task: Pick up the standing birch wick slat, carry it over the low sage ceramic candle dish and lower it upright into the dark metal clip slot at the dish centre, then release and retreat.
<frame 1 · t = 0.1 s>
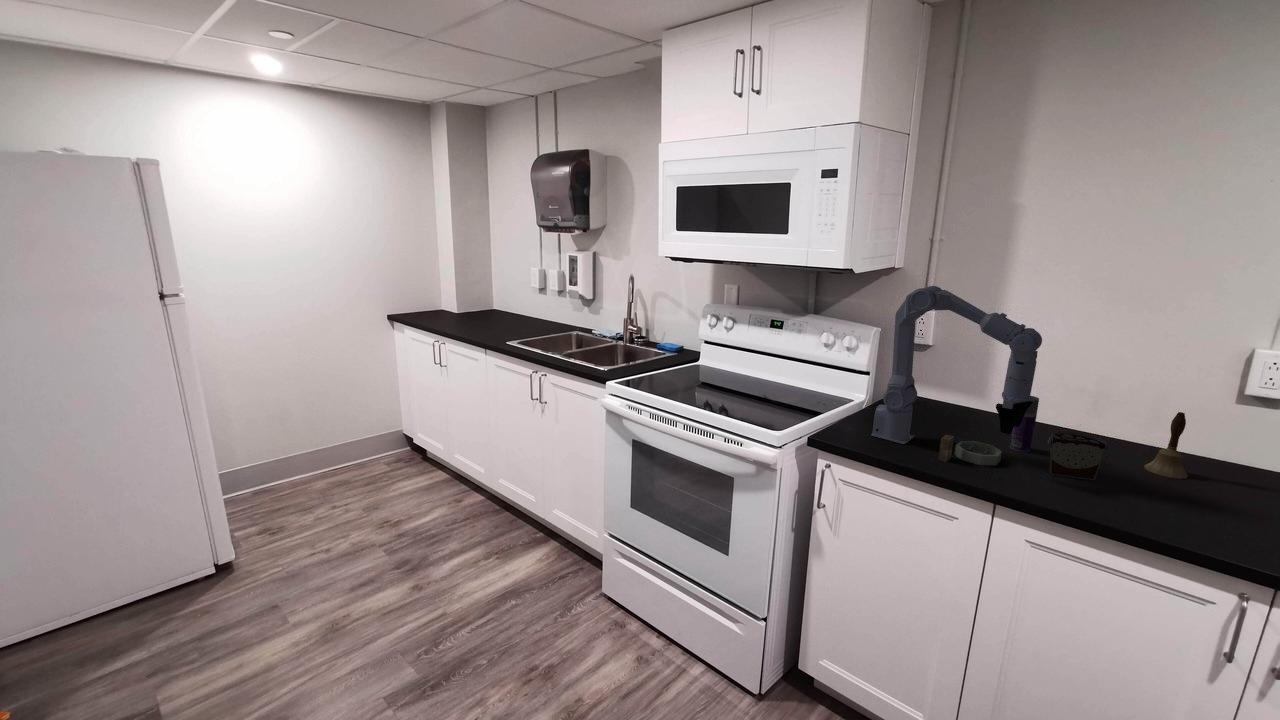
hand: (1010, 429, 146), 10 cm above the worktop, fingers open, 7 cm apart
container: (1019, 449, 159), on the worktop
wick: (944, 458, 152), on the worktop
food container: (1067, 472, 145), on the worktop
hand bell: (1165, 472, 146), on the worktop
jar: (977, 457, 153), on the worktop
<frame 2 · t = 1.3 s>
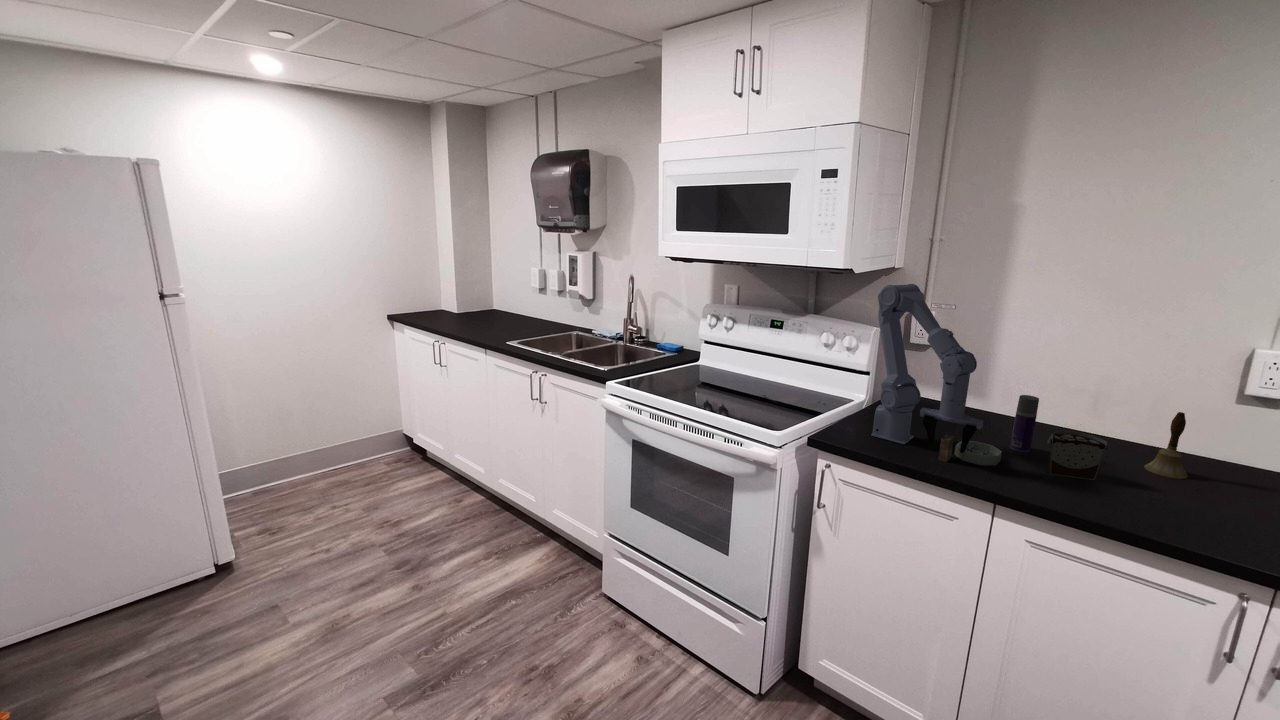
hand: (946, 447, 151), 3 cm above the worktop, fingers open, 7 cm apart
nothing on the worktop moved.
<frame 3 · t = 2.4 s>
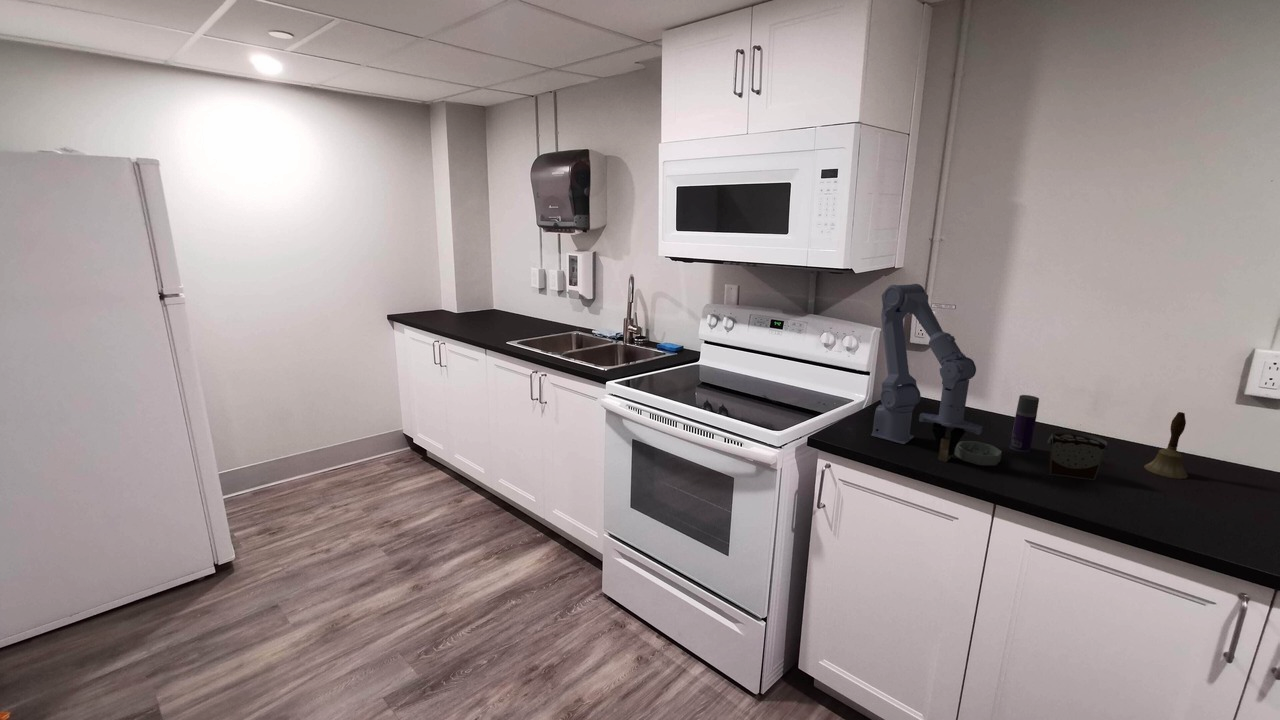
hand: (945, 452, 152), 2 cm above the worktop, fingers closed on wick, 2 cm apart
wick: (944, 458, 152), on the worktop, touching gripper
everything else where it was.
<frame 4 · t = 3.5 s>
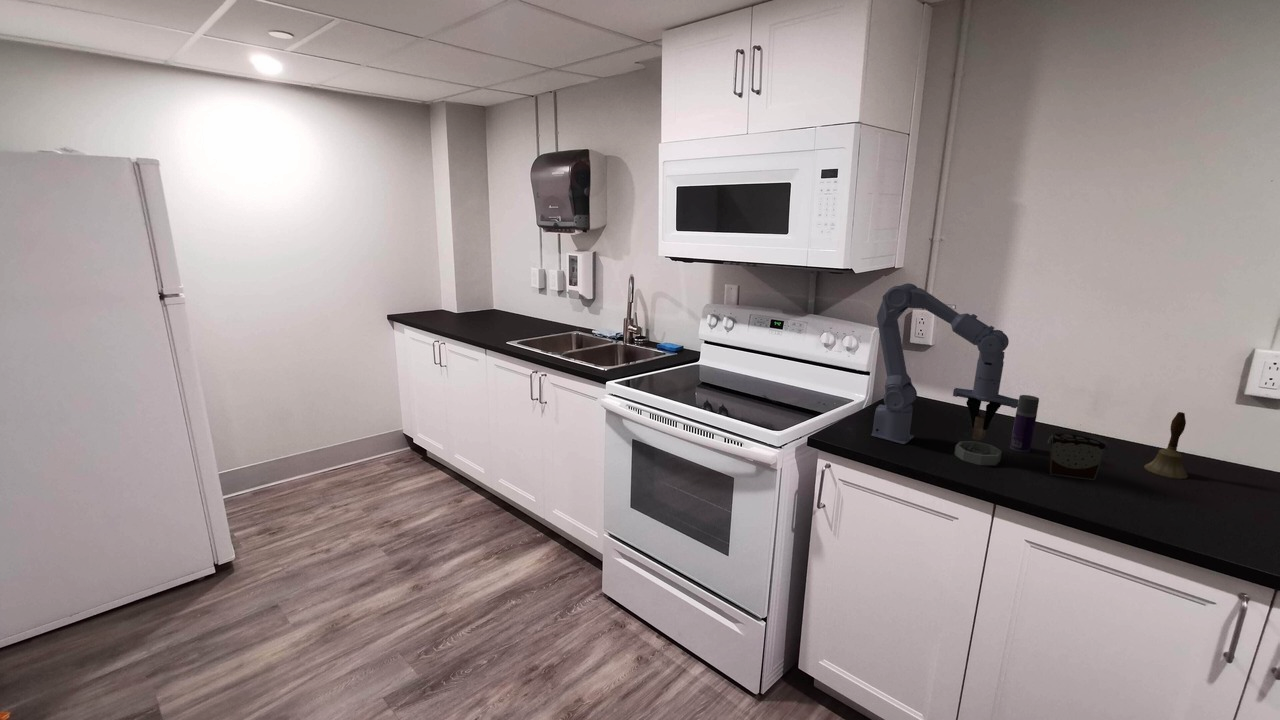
hand: (979, 427, 151), 8 cm above the worktop, fingers closed on wick
wick: (978, 437, 152), point 6 cm above the worktop, touching gripper
everything else where it was.
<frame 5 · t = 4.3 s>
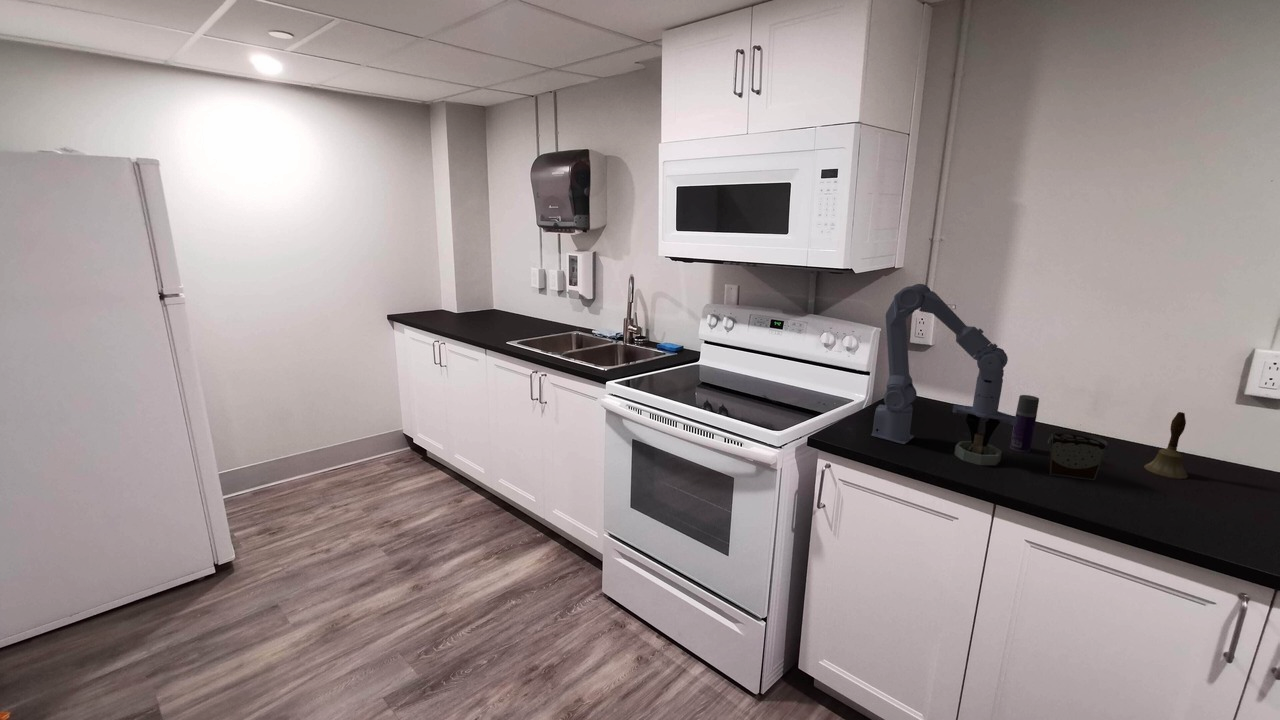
hand: (979, 444, 152), 4 cm above the worktop, fingers closed on wick, 2 cm apart
wick: (977, 454, 153), point 1 cm above the worktop, touching gripper, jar
everything else where it was.
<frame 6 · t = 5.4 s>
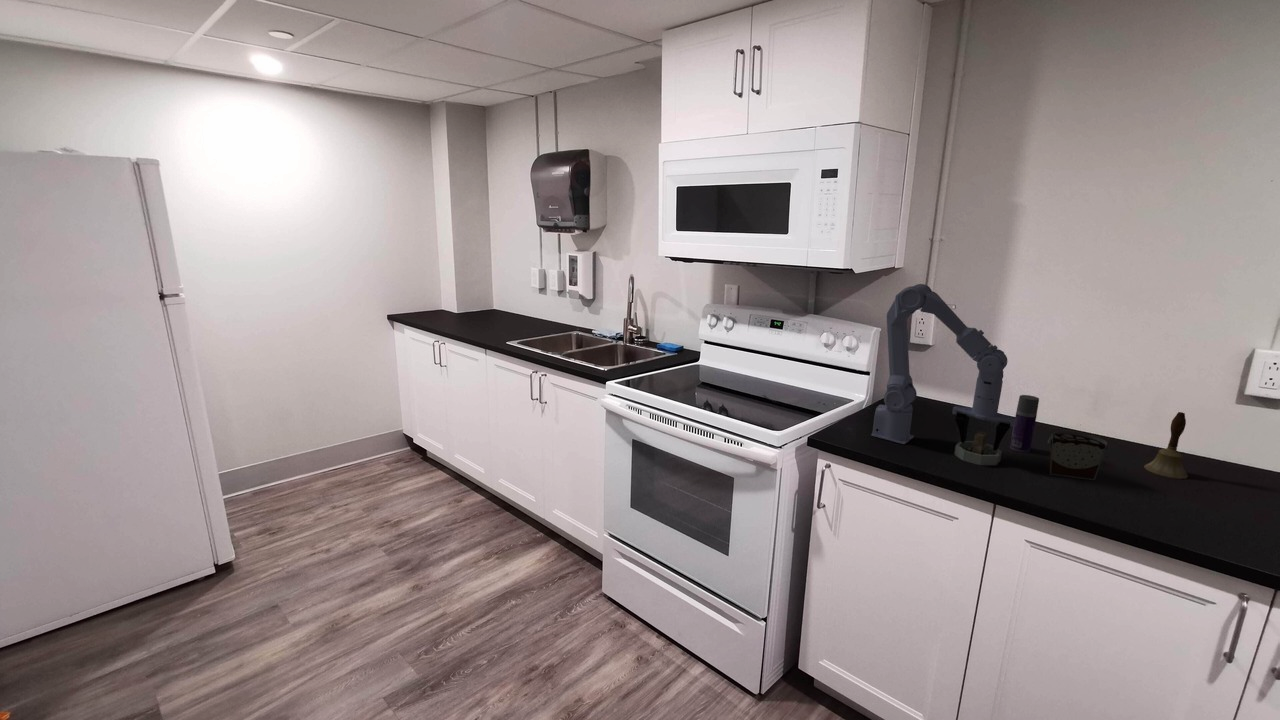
hand: (978, 445, 152), 3 cm above the worktop, fingers open, 7 cm apart
wick: (977, 454, 153), point 1 cm above the worktop, touching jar
everything else where it was.
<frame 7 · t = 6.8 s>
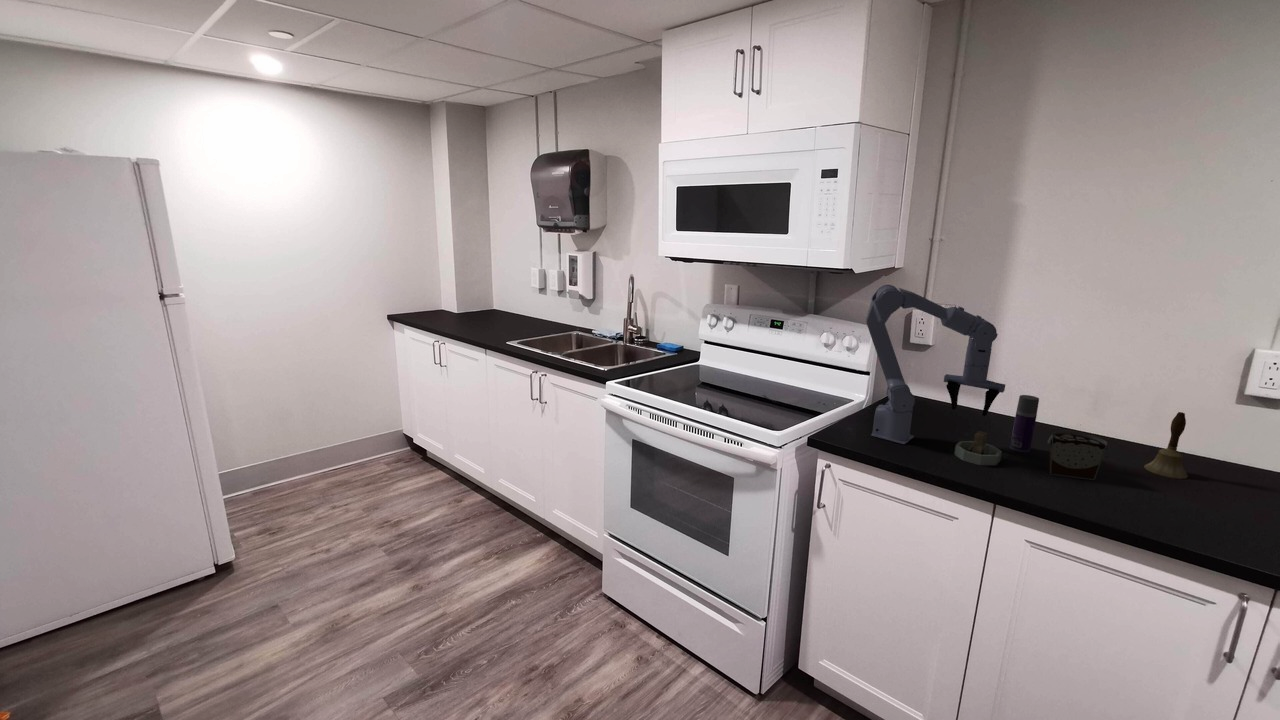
hand: (969, 411, 159), 10 cm above the worktop, fingers open, 7 cm apart
nothing on the worktop moved.
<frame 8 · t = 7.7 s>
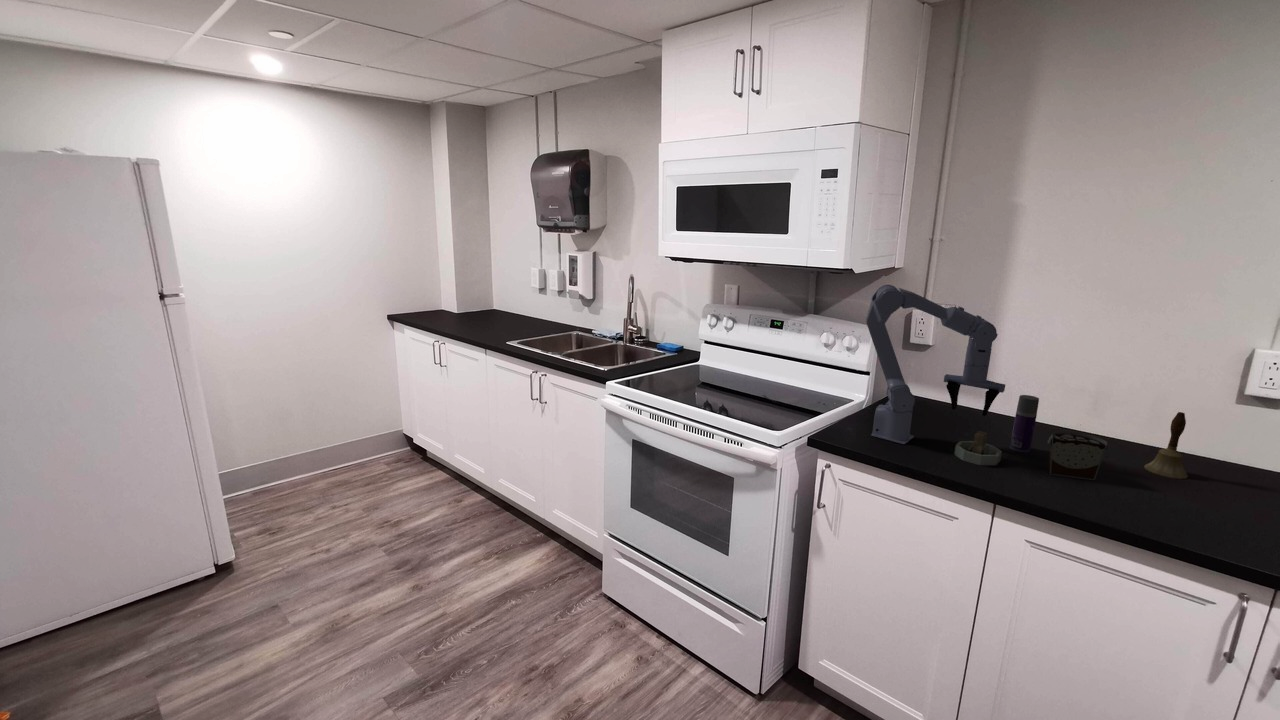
hand: (969, 411, 159), 10 cm above the worktop, fingers open, 7 cm apart
nothing on the worktop moved.
at the end: wick 0.0 cm off-centre on the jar, point 0.8 cm above the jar's base; wick tilted 0°; the gripper is holding nothing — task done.
